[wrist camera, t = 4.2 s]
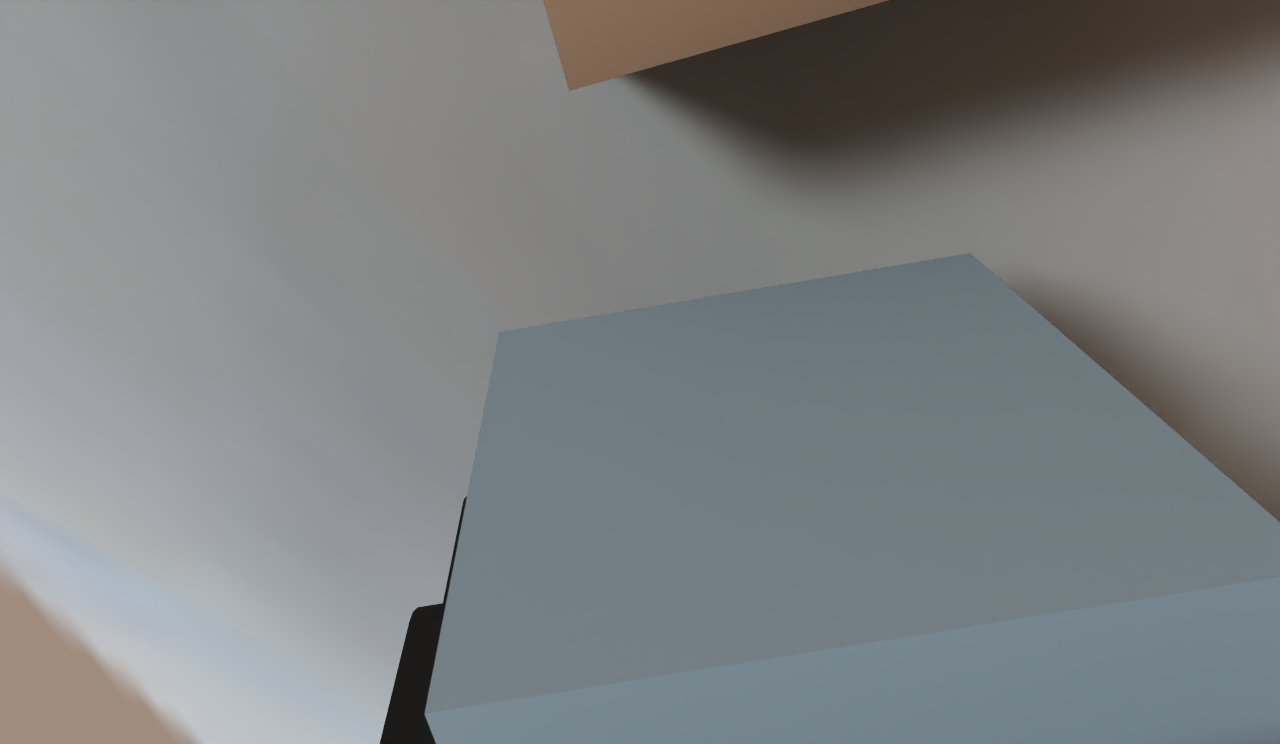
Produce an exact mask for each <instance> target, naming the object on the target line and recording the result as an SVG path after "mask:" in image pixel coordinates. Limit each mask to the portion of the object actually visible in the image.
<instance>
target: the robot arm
mask: <svg viewBox="0 0 1280 744" xmlns="http://www.w3.org/2000/svg"><path fill="white" fill-rule="evenodd" d="M466 499H467V497H465V499H464V502H463V506H462V511H461V516H460V521H459V526H458V531H457V536H456V541H455V546H454V551H453V556H452V561H451V566H450V571H449V576H448V581H447V586H446V591H445V596H444V601H443V604H436V605H430V606H424V607H418V608H417V609H416V610H415V611H414V612H413V614H412V616H411V619H410V622H409V626H408V630H407V634H406V638H405V642H404V646H403V651H402V655H401V659H400V663H399V667H398V671H397V675H396V679H395V683H394V688H393V692H392V696H391V700H390V704H389V708H388V712H387V716H386V720H385V725H384V729H383V733H382V737H381V741H380V744H436V742H435V740H434V737H433V735H432V732H431V730H430V727H429V724H428V722H427V719H426V717H425V709H426V704H427V699H428V693H429V688H430V683H431V678H432V673H433V668H434V663H435V658H436V653H437V647H438V642H439V637H440V632H441V627H442V622H443V617H444V612H445V607H446V602H447V596H448V591H449V586H450V581H451V576H452V571H453V566H454V561H455V556H456V550H457V545H458V540H459V535H460V530H461V525H462V520H463V515H464V510H465V505H466Z"/></svg>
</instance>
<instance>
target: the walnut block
mask: <svg viewBox="0 0 1280 744" xmlns="http://www.w3.org/2000/svg"><path fill="white" fill-rule="evenodd" d="M543 1H544V5H545V8H546V12H547V15H548V19H549V22H550V26H551V29H552V32H553V36H554V39H555V43H556V46H557V50H558V53H559V57H560V60H561V64H562V67H563V71H564V74H565V78H566V81H567V85H568V88H569V91H570V90H573V89H577V88H581V87H584V86H588V85H591V84H595V83H598V82H602V81H605V80H609V79H612V78H616V77H619V76H623V75H627V74H630V73H634V72H637V71H641V70H644V69H648V68H651V67H655V66H658V65H662V64H665V63H669V62H673V61H676V60H680V59H683V58H687V57H690V56H694V55H697V54H701V53H704V52H708V51H711V50H715V49H719V48H722V47H726V46H729V45H733V44H736V43H740V42H743V41H747V40H750V39H754V38H757V37H761V36H764V35H768V34H772V33H775V32H779V31H782V30H786V29H789V28H793V27H796V26H800V25H803V24H807V23H810V22H814V21H818V20H821V19H825V18H828V17H832V16H835V15H839V14H842V13H846V12H849V11H853V10H856V9H860V8H864V7H867V6H871V5H874V4H878V3H881V2H885V1H888V0H543Z"/></svg>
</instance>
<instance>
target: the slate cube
mask: <svg viewBox="0 0 1280 744" xmlns="http://www.w3.org/2000/svg"><path fill="white" fill-rule="evenodd" d="M425 717H426V719H427V722H428V724H429V727H430V730H431V732H432V735H433V737H434V740H435V742H436V744H1280V522H1279V521H1278V520H1277V519H1276V518H1274V517H1273V516H1272V515H1271V514H1270V513H1269V512H1267V511H1266V510H1265V509H1264V508H1263V507H1262V506H1261V505H1259V504H1258V503H1257V502H1256V501H1255V500H1254V499H1252V498H1251V497H1250V496H1249V495H1248V494H1247V493H1246V492H1244V491H1243V490H1242V489H1241V488H1240V487H1239V486H1238V485H1236V484H1235V483H1234V482H1233V481H1232V480H1231V479H1229V478H1228V477H1227V476H1226V475H1225V474H1224V473H1223V472H1221V471H1220V470H1219V469H1218V468H1217V467H1216V466H1215V465H1213V464H1212V463H1211V462H1210V461H1209V460H1208V459H1206V458H1205V457H1204V456H1203V455H1202V454H1201V453H1200V452H1198V451H1197V450H1196V449H1195V448H1194V447H1193V446H1191V445H1190V444H1189V443H1188V442H1187V441H1186V440H1185V439H1183V438H1182V437H1181V436H1180V435H1179V434H1178V433H1177V432H1175V431H1174V430H1173V429H1172V428H1171V427H1170V426H1168V425H1167V424H1166V423H1165V422H1164V421H1163V420H1162V419H1160V418H1159V417H1158V416H1157V415H1156V414H1155V413H1154V412H1152V411H1151V410H1150V409H1149V408H1148V407H1147V406H1145V405H1144V404H1143V403H1142V402H1141V401H1140V400H1139V399H1137V398H1136V397H1135V396H1134V395H1133V394H1132V393H1130V392H1129V391H1128V390H1127V389H1126V388H1125V387H1124V386H1122V385H1121V384H1120V383H1119V382H1118V381H1117V380H1116V379H1114V378H1113V377H1112V376H1111V375H1110V374H1109V373H1107V372H1106V371H1105V370H1104V369H1103V368H1102V367H1101V366H1099V365H1098V364H1097V363H1096V362H1095V361H1094V360H1092V359H1091V358H1090V357H1089V356H1088V355H1087V354H1086V353H1084V352H1083V351H1082V350H1081V349H1080V348H1079V347H1078V346H1076V345H1075V344H1074V343H1073V342H1072V341H1071V340H1069V339H1068V338H1067V337H1066V336H1065V335H1064V334H1063V333H1061V332H1060V331H1059V330H1058V329H1057V328H1056V327H1055V326H1053V325H1052V324H1051V323H1050V322H1049V321H1048V320H1046V319H1045V318H1044V317H1043V316H1042V315H1041V314H1040V313H1038V312H1037V311H1036V310H1035V309H1034V308H1033V307H1031V306H1030V305H1029V304H1028V303H1027V302H1026V301H1025V300H1023V299H1022V298H1021V297H1020V296H1019V295H1018V294H1017V293H1015V292H1014V291H1013V290H1012V289H1011V288H1010V287H1008V286H1007V285H1006V284H1005V283H1004V282H1003V281H1002V280H1000V279H999V278H998V277H997V276H996V275H995V274H994V273H992V272H991V271H990V270H989V269H988V268H987V267H985V266H984V265H983V264H982V263H981V262H980V261H979V260H977V259H976V258H975V257H974V256H973V255H972V254H970V253H969V254H963V255H958V256H952V257H946V258H940V259H934V260H928V261H922V262H916V263H910V264H904V265H898V266H892V267H886V268H880V269H874V270H868V271H862V272H856V273H850V274H844V275H838V276H832V277H826V278H820V279H815V280H809V281H803V282H797V283H791V284H785V285H779V286H773V287H767V288H761V289H755V290H749V291H743V292H737V293H731V294H725V295H719V296H713V297H707V298H701V299H695V300H689V301H683V302H677V303H671V304H666V305H660V306H654V307H648V308H642V309H636V310H630V311H624V312H618V313H612V314H606V315H600V316H594V317H588V318H582V319H576V320H570V321H564V322H558V323H552V324H546V325H540V326H534V327H528V328H523V329H517V330H511V331H505V332H499V336H498V341H497V346H496V351H495V356H494V362H493V367H492V372H491V377H490V382H489V387H488V392H487V397H486V402H485V408H484V413H483V418H482V423H481V428H480V433H479V438H478V443H477V448H476V453H475V459H474V464H473V469H472V474H471V479H470V484H469V489H468V494H467V499H466V505H465V510H464V515H463V520H462V525H461V530H460V535H459V540H458V545H457V550H456V556H455V561H454V566H453V571H452V576H451V581H450V586H449V591H448V596H447V602H446V607H445V612H444V617H443V622H442V627H441V632H440V637H439V642H438V647H437V653H436V658H435V663H434V668H433V673H432V678H431V683H430V688H429V693H428V699H427V704H426V709H425Z"/></svg>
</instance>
